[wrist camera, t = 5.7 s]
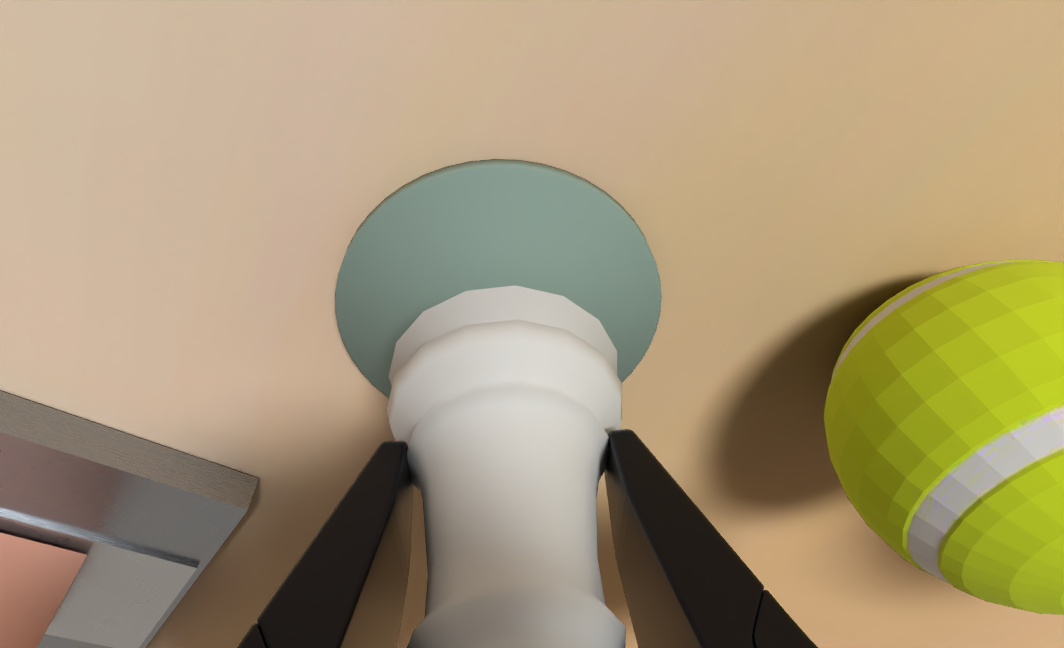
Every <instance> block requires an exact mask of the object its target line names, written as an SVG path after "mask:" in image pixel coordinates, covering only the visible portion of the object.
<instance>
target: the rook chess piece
mask: <svg viewBox="0 0 1064 648" xmlns="http://www.w3.org/2000/svg"><path fill="white" fill-rule="evenodd" d="M389 380H390V383H391V386H392V389H391V393H390V397H389V401H388V406H387V415H388V419H389V424H390V428H391V431H392V434H393V436H394V439H395V441H405V442H406V443H407V445H408V450H407V460H408V465H409V469H410V474H411V478H412V482H413V485H414V486H416V487H417V488H418V489H419V490H420V491H421V493H422V497H423V509H424V524H425V538H426V552H427V567H428V582H427V595H426V608H425V618H424V620H423V621H422V622H421V623H420V624H419V625H418V626H417V628H416V629H415V630H414V632H413V634H412V637H411V639H410V642H409V644H408V647H407V648H625V637H626V627H625V626H624V625H623V624H622V623H621V622H620V621H619V619H618V618H617V617H616V616H615V615H614V614H613V613H612V612H611V611H610V610H609V609H608V608H607V607H606V605H605V599H604V593H603V587H602V581H601V575H600V569H599V563H598V556H597V515H596V498H597V490H598V483H599V480H600V478H601V476H602V474H603V473H604V471H605V469H606V466H607V457H608V446H609V436H608V435H607V434H608V432H609V431H611V430H620V428H621V419H622V383H621V381H620V380H619V378H618V376H617V350H616V348H615V347H614V345H613V343H612V342H611V340H610V338H609V336H608V335H607V333H606V331H605V329H604V328H603V326H602V324H601V323H600V321H599V320H598V319H597V318H595V317H594V316H592V315H591V314H589V313H588V312H586V311H585V310H584V309H582V308H581V307H579V306H578V305H576V304H575V303H573V302H572V301H570V300H569V299H567V298H566V297H564V296H561V295H557V294H552V293H548V292H543V291H539V290H534V289H530V288H525V287H521V286H516V285H515V286H505V287H496V288H487V289H478V290H469V291H465V292H463V293H461V294H459V295H456V296H454V297H452V298H450V299H448V300H446V301H444V302H442V303H440V304H438V305H436V306H434V307H432V308H430V309H427V310H425V311H423V312H422V314H421V315H420V316H419V317H418V318H417V319H416V320H415V322H414V323H413V324H412V325H411V326H410V327H409V328H408V330H407V331H406V332H405V333H404V334H403V335H402V336H401V338H400V339H399V340H398V341H397V342H396V346H395V350H394V355H393V359H392V363H391V368H390V372H389Z"/></svg>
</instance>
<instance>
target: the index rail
mask: <svg viewBox="0 0 1064 648" xmlns="http://www.w3.org/2000/svg"><path fill="white" fill-rule="evenodd" d="M258 480H259V478H256V477H253V476H250V475H247V474H244V473H242V472H239V471H236V470H233V469H230V468H227V467H224V466H221V465H218V464H215V463H212V462H209V461H206V460H203V459H200V458H197V457H194V456H191V455H188V454H185V453H183V452H180V451H177V450H174V449H171V448H168V447H165V446H162V445H159V444H156V443H153V442H150V441H147V440H144V439H141V438H138V437H135V436H132V435H129V434H126V433H124V432H121V431H118V430H115V429H112V428H109V427H106V426H103V425H100V424H97V423H94V422H91V421H88V420H85V419H82V418H79V417H76V416H73V415H70V414H67V413H65V412H62V411H59V410H56V409H53V408H50V407H47V406H44V405H41V404H38V403H35V402H32V401H29V400H26V399H23V398H20V397H17V396H14V395H11V394H8V393H6V392H3V391H0V533H4V534H8V535H12V536H16V537H19V538H23V539H27V540H31V541H35V542H39V543H43V544H47V545H51V546H55V547H59V548H63V549H67V550H70V551H74V552H78V553H82V554H86V555H87V557H86V559H85V560H84V562H83V564H82V566H81V568H80V570H79V571H78V573H77V575H76V577H75V579H74V581H73V583H72V584H71V586H70V588H69V590H68V592H67V594H66V596H65V597H64V599H63V601H62V603H61V605H60V607H59V609H58V610H57V612H56V614H55V616H54V618H53V620H52V621H51V623H50V625H49V627H48V629H47V631H46V633H45V634H44V636H43V638H42V640H41V642H40V643H39V645H38V647H37V648H146V646H147V645H148V644H149V642H150V641H151V640H152V638H153V637H154V636H155V634H156V633H157V632H158V630H159V629H160V627H161V626H162V625H163V623H164V622H165V621H166V619H167V618H168V617H169V615H170V614H171V613H172V611H173V610H174V609H175V607H176V606H177V605H178V603H179V602H180V601H181V599H182V598H183V597H184V595H185V594H186V593H187V591H188V590H189V588H190V587H191V586H192V584H193V583H194V582H195V580H196V579H197V578H198V576H199V575H200V574H201V572H202V571H203V570H204V568H205V567H206V566H207V564H208V563H209V562H210V560H211V559H212V558H213V556H214V555H215V554H216V552H217V551H218V550H219V548H220V547H221V545H222V544H223V543H224V541H225V540H226V539H227V537H228V536H229V535H230V533H231V532H232V531H233V529H234V528H235V527H236V525H237V524H238V523H239V521H240V520H241V519H242V517H243V516H244V515H245V513H246V512H247V511H248V508H249V505H250V503H251V500H252V497H253V494H254V491H255V489H256V486H257V483H258Z"/></svg>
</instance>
